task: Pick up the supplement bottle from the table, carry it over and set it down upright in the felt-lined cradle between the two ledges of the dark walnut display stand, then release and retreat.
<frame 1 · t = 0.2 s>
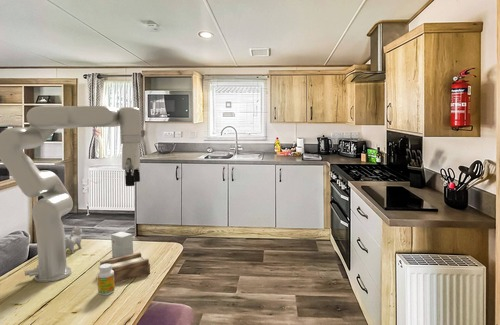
hand: (133, 183, 132), 37 cm above the table, tool pointing down, fingers open, 9 cm apart
supplement bottle: (106, 292, 122), on the table
display stand: (125, 273, 136), on the table
small box: (122, 257, 154), on the table
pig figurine: (73, 250, 163), on the table
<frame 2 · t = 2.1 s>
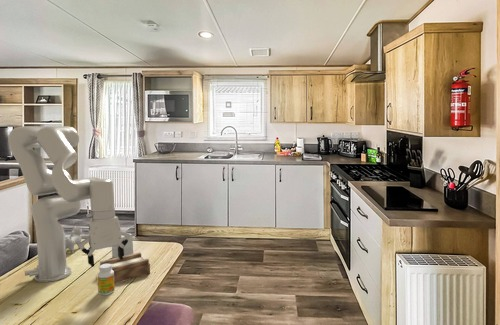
hand: (106, 261, 120), 11 cm above the table, tool pointing down, fingers open, 9 cm apart
nothing on the table moved.
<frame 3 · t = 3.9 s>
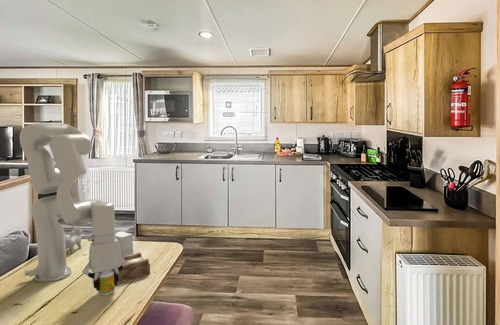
hand: (106, 286, 121), 2 cm above the table, tool pointing down, fingers closed on supplement bottle, 5 cm apart
supplement bottle: (106, 292, 122), on the table, touching gripper
everything else where it was.
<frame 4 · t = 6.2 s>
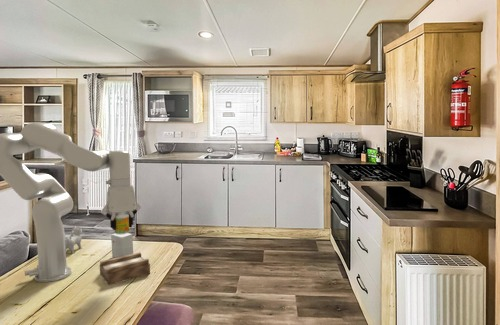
hand: (122, 227, 133), 19 cm above the table, tool pointing down, fingers closed on supplement bottle, 5 cm apart
supplement bottle: (122, 233, 134), point 17 cm above the table, touching gripper
everything else where it was.
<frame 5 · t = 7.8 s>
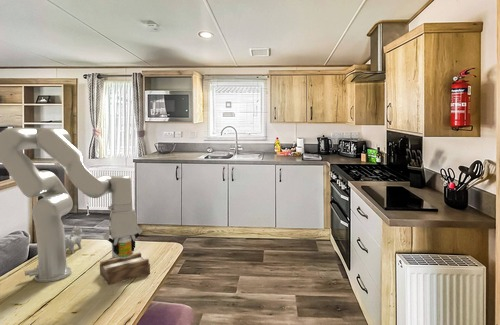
hand: (124, 251, 135), 9 cm above the table, tool pointing down, fingers closed on supplement bottle, 5 cm apart
supplement bottle: (124, 256, 136), point 7 cm above the table, touching gripper
everything else where it was.
when the fingers open (8 cm above the table, at t = 8.8 s): supplement bottle drops 2 cm, resting on display stand.
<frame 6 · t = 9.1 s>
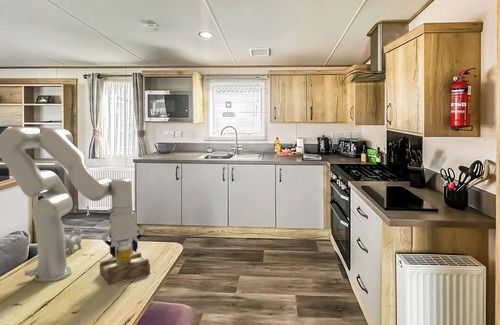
hand: (124, 253, 135), 9 cm above the table, tool pointing down, fingers open, 7 cm apart
supplement bottle: (124, 264, 136), point 4 cm above the table, touching display stand
everything else where it was.
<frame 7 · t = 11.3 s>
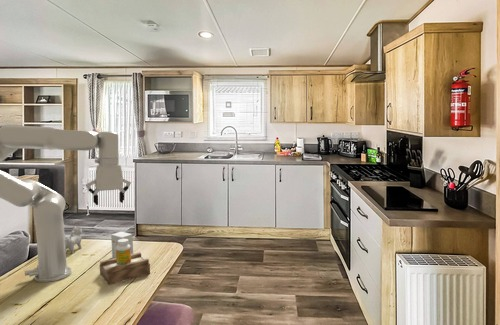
hand: (109, 203, 140), 27 cm above the table, tool pointing down, fingers open, 9 cm apart
nothing on the table moved.
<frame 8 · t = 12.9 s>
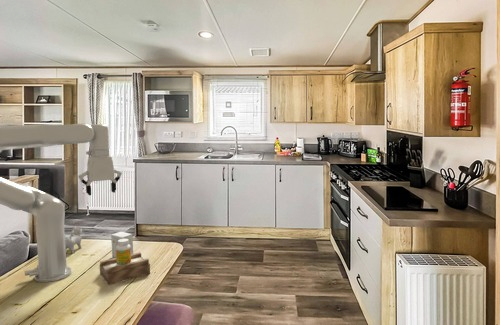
hand: (101, 193, 145), 30 cm above the table, tool pointing down, fingers open, 9 cm apart
nothing on the table moved.
at the end: supplement bottle inside the target area on the display stand (0.3 cm from its centre), point 4.0 cm above the display stand's base; supplement bottle tilted 0°; the gripper is holding nothing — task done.
